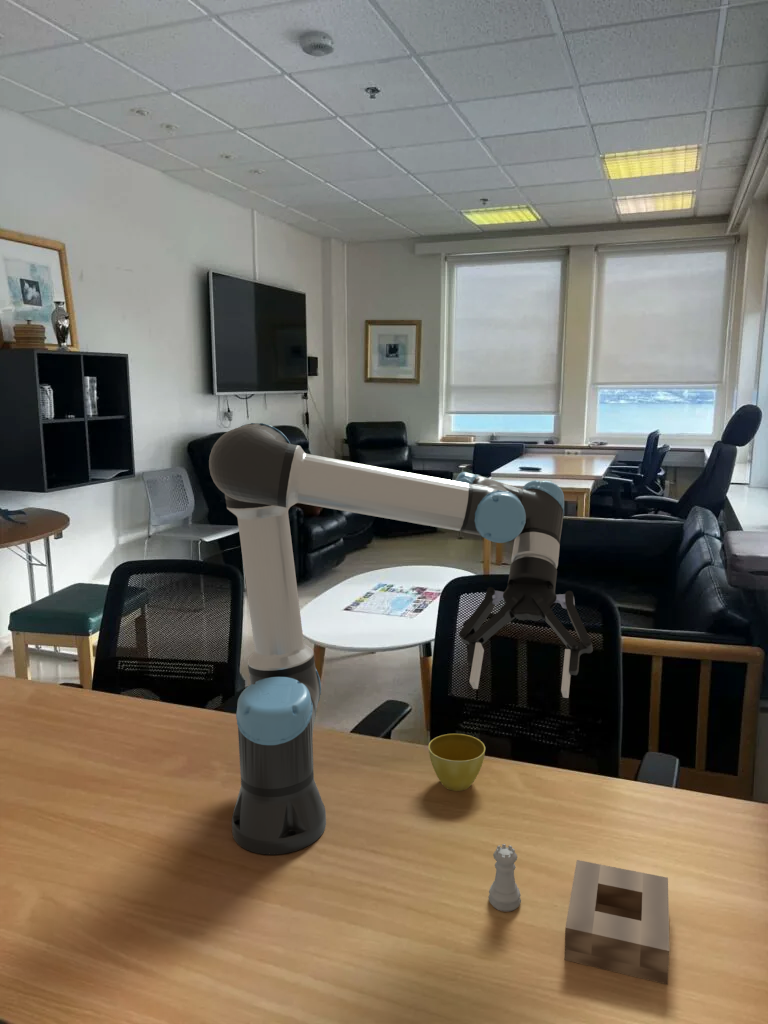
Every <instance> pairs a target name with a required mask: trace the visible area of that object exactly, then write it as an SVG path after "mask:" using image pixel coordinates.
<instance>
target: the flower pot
mask: <svg viewBox="0 0 768 1024" xmlns="http://www.w3.org/2000/svg"><path fill="white" fill-rule="evenodd" d="M427 746H428V748H427V749H428V755H429V759H430V761H431V762H430V763H431V765H432V768H433V771H434V773H435V775H436V776H437V778H438V780H439V781H440V784H441V785H442V786H443V787H444V788H445V789H447V790H450V791H453V792H461V791H466V790H468V789H469V788H470V787H471V786H472V785H473V783H474V781H476V779H477V777H478V775H479V773H480V771H481V768H482V766H483V762H484V758H485V754H486V746H485V743H484V742H483V741H481V739H479V738H477V737H474V736H473V735H468V734H464V733H447V734H441V735H439V736H436V737H434V738H433V739H431V740H430V742H429V743H428V745H427Z"/></svg>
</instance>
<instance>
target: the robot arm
mask: <svg viewBox="0 0 768 1024" xmlns="http://www.w3.org/2000/svg"><path fill="white" fill-rule="evenodd" d="M210 450H211V452H210V454H209V460H208V468H209V473H210V476H211V479H212V481H213V483H214V484H215V486H216V487H217V489H218V490H219V491H221V492H222V493H223V494H224V498H225V504H226V510H228V511H229V512H230V513H232V514H233V515H234V516H235V517H236V518H237V526H238V532H239V541H240V548H241V555H242V562H243V563H242V564H243V570H244V579H245V586H246V593H247V602H248V609H249V614H250V615H249V616H250V623H251V633H252V638H253V645H254V646H253V647H254V651H252V653H251V654H250V656H249V657H248V658H247V667H248V675H249V685H248V686H246V688H245V689H243V691H241V693H240V695H239V697H238V699H237V705H236V706H237V708H236V715H235V717H236V718H235V719H236V725H237V733H238V737H237V738H238V751H239V756H238V757H239V769H240V770H239V772H240V787H239V790H238V791H239V793H238V796H237V799H236V803H235V806H234V809H233V813H232V816H231V833H232V837H233V839H234V842H236V843H237V845H239V846H240V847H241V848H243V849H244V850H246V851H249V852H252V853H255V854H260V855H268V856H269V855H271V856H272V855H273V856H274V855H282V854H283V855H284V854H289V853H294V852H296V851H300V850H302V849H304V848H306V847H308V846H310V845H312V844H313V843H315V842H316V841H317V840H319V838H320V837H321V836H322V834H324V832H325V830H326V826H327V814H326V806H325V805H324V802H323V799H322V796H321V794H320V790H319V789H318V786H317V783H316V781H315V778H314V777H315V776H314V775H315V774H314V749H313V748H314V744H313V741H314V740H313V739H314V737H313V735H314V734H313V733H314V728H315V721H316V715H317V711H318V705H319V702H320V698H321V695H322V684H321V678H320V675H319V672H318V670H317V668H316V662H315V653H314V650H313V648H312V647H310V646H309V645H308V644H306V642H304V633H303V626H302V617H301V609H300V602H299V601H300V600H299V592H298V583H297V577H296V565H295V560H294V559H295V558H294V552H293V551H294V550H293V543H292V535H291V526H290V518H289V517H290V516H289V510H290V508H291V507H292V506H294V505H296V504H303V505H309V506H314V507H320V508H325V509H331V510H338V511H342V512H348V513H355V514H360V515H366V516H372V517H378V518H382V519H383V518H384V519H387V520H388V519H390V520H395V521H399V522H407V523H412V524H417V525H422V526H428V527H429V526H430V527H433V528H434V527H435V528H440V529H446V530H451V531H452V530H453V531H457V532H462V533H464V534H465V533H466V534H471V535H476V536H481V537H482V538H484V539H485V540H487V541H490V542H493V543H498V544H503V543H504V544H505V543H509V542H510V541H513V547H512V552H511V553H512V554H511V559H510V560H511V564H510V566H509V573H508V581H507V586H506V589H505V590H504V591H500V590H495V588H494V587H493V586H488V588H487V589H486V592H485V594H484V599H482V601H481V602H480V604H479V605H478V606H477V608H476V610H475V611H474V612H473V613H472V615H471V616H470V617H469V619H468V620H467V621H466V623H465V625H463V627H462V629H460V631H459V633H458V636H459V638H460V639H461V642H462V643H463V644H464V645H468V651H467V656H466V662H467V664H468V665H469V667H471V669H470V670H471V671H470V675H469V680H468V681H469V684H470V686H471V687H472V689H473V690H478V689H479V684H480V678H481V671H482V664H483V660H484V653H485V649H484V647H483V645H484V644H485V643H486V642H487V641H488V640H489V639H491V637H493V636H494V635H495V634H496V633H498V632H499V630H501V629H502V628H503V627H504V626H505V625H507V624H508V623H511V622H512V621H513V620H515V618H517V619H518V621H525V620H526V621H527V620H530V621H533V622H539V621H540V620H542V619H543V620H544V621H545V623H547V625H548V626H550V628H551V629H552V630H553V632H554V633H555V634H556V635H557V637H558V638H559V639H560V640H561V642H562V644H564V645H565V647H566V648H565V649H564V657H563V667H562V677H561V678H562V679H561V689H560V692H561V694H562V695H561V696H562V698H565V699H569V695H570V685H571V677H572V676H577V675H578V674H579V670H580V657H581V655H583V654H592V653H593V651H594V649H593V643H592V640H591V638H590V636H589V634H588V631H587V630H586V627H585V625H584V623H583V621H582V619H581V617H580V615H579V612H578V609H577V608H576V603H575V602H576V601H575V596H574V592H573V591H572V590H567V591H566V592H565V593H563V594H561V593H559V594H556V586H557V585H556V584H557V578H558V577H557V576H558V570H557V569H558V566H559V557H560V546H561V535H562V529H563V521H564V516H565V495H564V492H563V490H562V488H561V487H560V486H558V484H556V483H554V482H552V481H549V480H543V481H540V480H538V479H537V480H536V479H535V480H531V481H528V482H526V483H525V484H524V485H523V487H522V488H521V487H515V486H513V485H509V484H506V483H504V482H501V481H498V480H495V479H491V478H489V477H485V476H482V475H481V474H476V473H475V474H474V473H470V472H467V471H462V472H460V473H458V475H457V476H456V478H455V479H452V480H451V479H447V478H441V477H437V476H430V475H426V474H420V473H414V472H410V471H409V472H407V471H403V470H397V469H393V468H387V467H380V466H375V465H370V464H366V463H365V464H364V463H360V462H359V463H358V462H353V461H349V460H342V459H337V458H332V457H328V456H327V457H325V456H323V455H322V456H320V455H316V454H311V453H306V452H305V451H304V449H303V448H302V446H301V445H298V444H293V443H291V442H290V440H289V439H288V438H287V436H286V435H285V434H284V433H283V432H282V431H281V430H279V429H278V428H276V427H274V426H272V425H269V424H267V423H263V422H259V423H258V422H255V423H254V422H250V423H245V424H242V425H240V426H238V427H235V428H233V429H230V430H228V431H227V432H225V433H224V434H222V435H220V437H219V438H218V439H217V440H216V442H214V444H213V446H212V448H211V449H210ZM501 601H504V604H503V605H502V606H501V608H500V609H499V611H498V612H497V613H495V614H494V615H493V616H492V617H491V618H490V619H489V620H487V618H488V617H489V616H490V614H491V613H492V612H493V610H494V608H495V606H498V604H499V603H500V602H501ZM557 603H558V604H560V605H561V608H562V609H565V610H566V611H567V614H568V617H569V619H570V621H571V623H572V626H573V628H574V630H575V632H576V634H577V637H578V639H579V641H580V642H578V641H577V640H576V639H575V638H574V637H573V636H572V634H571V633H570V632H569V630H568V629H567V628H566V627H565V626H564V625H563V624H562V622H561V621H560V619H558V617H557V616H556V615H555V614H554V612H553V611H554V610H552V609H553V608H554V607H555V606H556V605H557ZM486 620H487V622H486ZM483 623H484V624H483Z"/></svg>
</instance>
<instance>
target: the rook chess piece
mask: <svg viewBox="0 0 768 1024" xmlns="http://www.w3.org/2000/svg"><path fill="white" fill-rule="evenodd" d="M515 851H516V850H515V848H513V845H511V844H509V845H508V847H507V845H506V844H505V843H504V844H501V845H500V844H498V845H497V846H496V848H495V851H494V852H493V855H492V856H493V859H494V860H495V861H496V862H495V863H494V868H495V876H494V881H493V882H492V883H491V885H490V888H489V890H488V893H489V894H488V901H489V904H490V905H492V907H493V908H494V909H495V910H497V911H499V912H504V913H505V912H506V913H508V912H509V913H510V912H512V911H515V910H516V909H517V908H518V907H520V905H521V903H522V899H521V896H522V895H521V892H520V888H519V887H518V884H517V882H516V879H515V869H516V864H515V862H516V861H517V860H518V854H517V853H516V852H515Z"/></svg>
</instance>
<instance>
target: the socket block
mask: <svg viewBox="0 0 768 1024" xmlns="http://www.w3.org/2000/svg"><path fill="white" fill-rule="evenodd" d="M572 880H573V881H572V886H571V892H570V898H569V905H568V909H567V916H566V920H565V921H566V922H565V929H564V930H565V931H564V932H565V933H564V956H563V957H564V958H563V959H564V961H569V962H572V963H577V964H580V965H583V966H584V965H585V966H589V967H594V968H597V969H601V970H605V971H610V972H613V973H618V974H622V975H626V976H630V977H633V978H634V977H635V978H639V979H643V980H648V981H651V982H655V983H660V984H663V985H668V983H669V982H668V981H669V968H670V967H669V966H670V965H669V964H670V925H669V924H670V914H669V913H670V912H669V911H670V909H669V878H668V877H667V876H666V877H665V876H661V875H655V874H650V873H645V872H641V871H636V870H630V869H625V868H620V867H616V866H615V867H614V866H610V865H605V864H601V863H600V864H599V863H596V862H591V861H584V860H580V859H576V863H575V869H574V874H573V879H572Z"/></svg>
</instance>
